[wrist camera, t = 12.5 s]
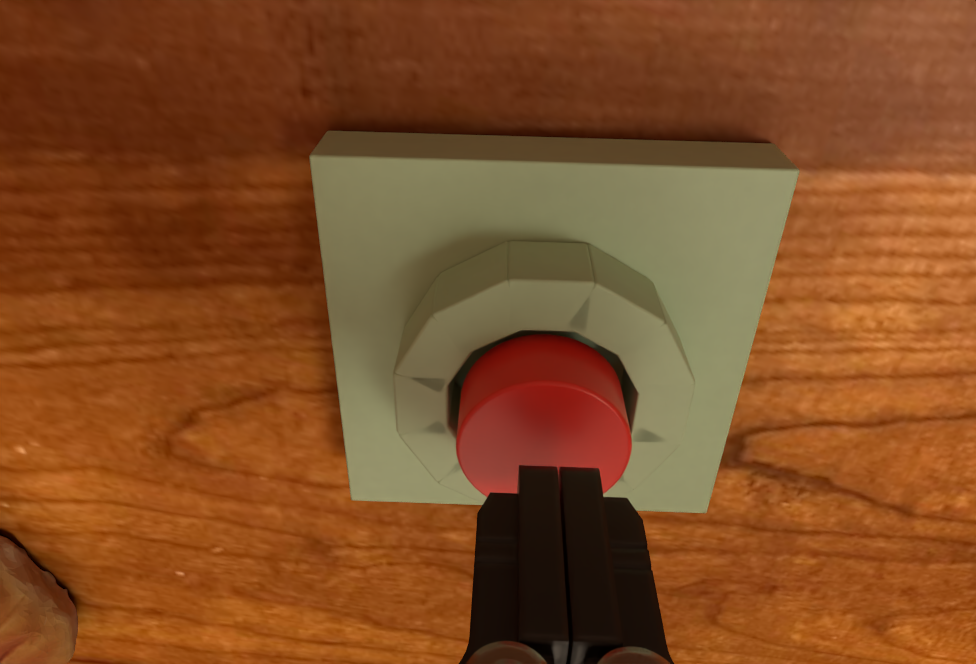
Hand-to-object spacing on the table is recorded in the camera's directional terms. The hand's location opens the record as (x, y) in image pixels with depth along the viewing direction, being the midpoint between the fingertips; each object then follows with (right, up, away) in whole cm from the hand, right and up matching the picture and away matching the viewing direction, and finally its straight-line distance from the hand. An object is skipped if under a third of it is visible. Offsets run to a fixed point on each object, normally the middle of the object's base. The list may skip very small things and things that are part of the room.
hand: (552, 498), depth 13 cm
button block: (0, +3, +5) cm, 6 cm away
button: (0, +2, +2) cm, 3 cm away
